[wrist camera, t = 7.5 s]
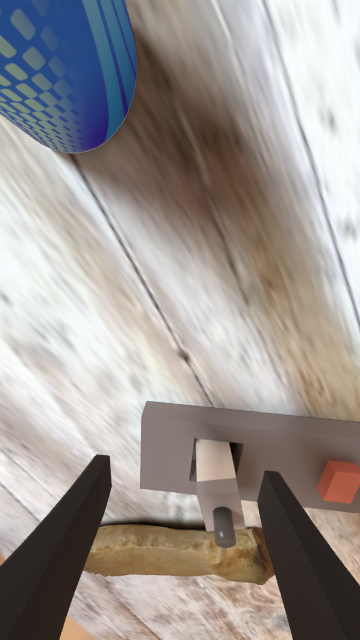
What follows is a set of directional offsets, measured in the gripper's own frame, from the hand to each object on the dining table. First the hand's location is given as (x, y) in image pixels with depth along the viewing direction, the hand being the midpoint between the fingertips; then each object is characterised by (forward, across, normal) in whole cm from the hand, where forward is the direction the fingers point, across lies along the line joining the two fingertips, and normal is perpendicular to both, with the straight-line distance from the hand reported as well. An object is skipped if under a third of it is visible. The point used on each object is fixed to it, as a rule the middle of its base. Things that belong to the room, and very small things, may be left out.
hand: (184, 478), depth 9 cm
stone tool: (+10, +1, +25) cm, 27 cm away
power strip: (+9, -7, +8) cm, 15 cm away
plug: (+9, -3, +8) cm, 13 cm away
